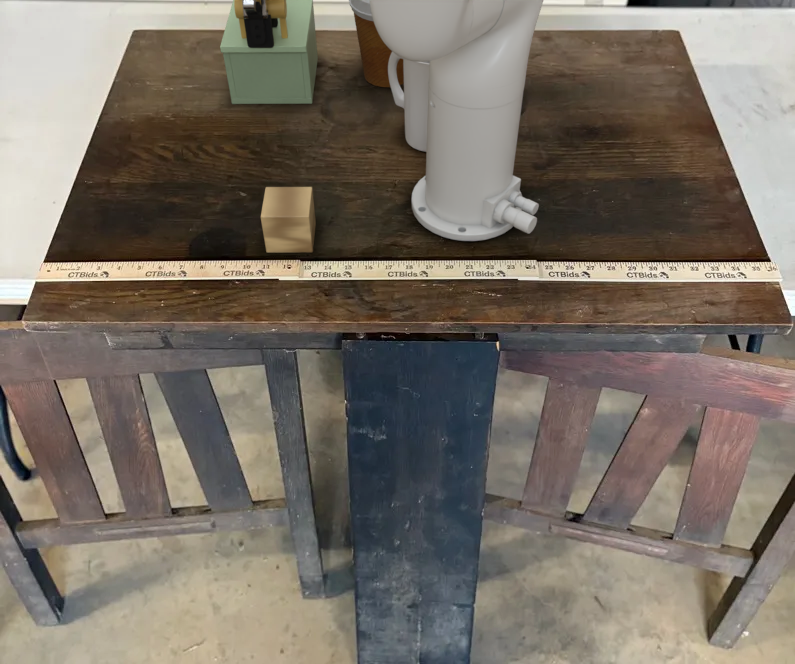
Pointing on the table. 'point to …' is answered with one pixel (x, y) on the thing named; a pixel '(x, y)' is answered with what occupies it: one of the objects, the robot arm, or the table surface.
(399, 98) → the mug
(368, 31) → the disposable coffee cup
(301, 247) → the block
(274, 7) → the lid
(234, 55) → the chest
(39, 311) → the table surface
